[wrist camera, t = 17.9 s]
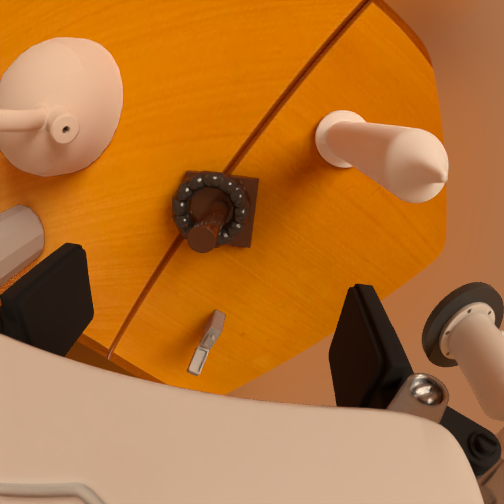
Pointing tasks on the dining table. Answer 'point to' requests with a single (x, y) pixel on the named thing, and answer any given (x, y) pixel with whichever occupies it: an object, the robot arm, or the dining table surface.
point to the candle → (385, 154)
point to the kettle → (59, 106)
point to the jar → (19, 240)
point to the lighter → (206, 342)
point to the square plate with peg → (218, 214)
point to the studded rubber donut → (224, 185)
